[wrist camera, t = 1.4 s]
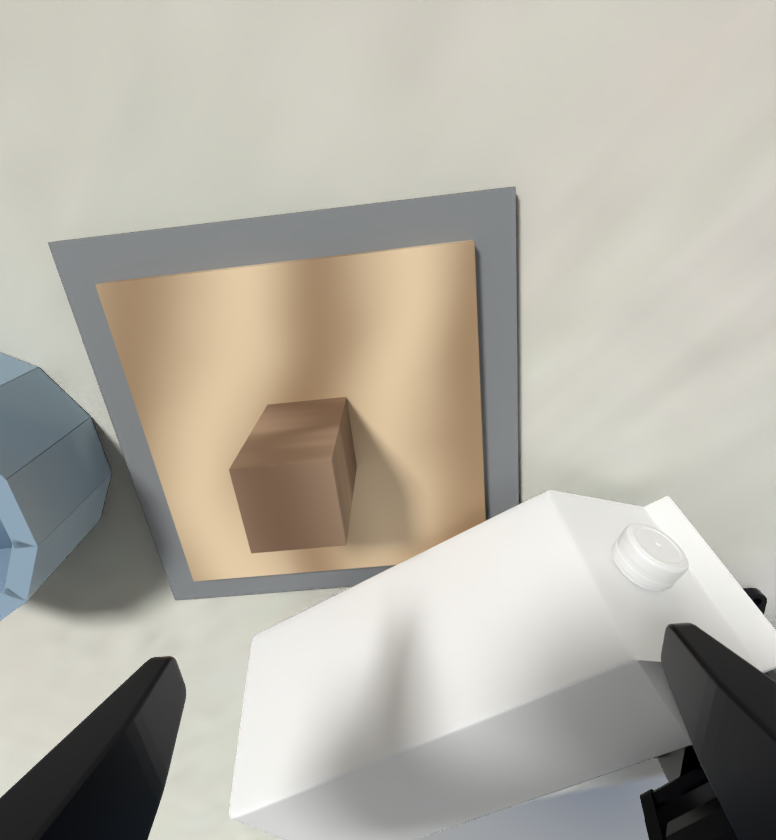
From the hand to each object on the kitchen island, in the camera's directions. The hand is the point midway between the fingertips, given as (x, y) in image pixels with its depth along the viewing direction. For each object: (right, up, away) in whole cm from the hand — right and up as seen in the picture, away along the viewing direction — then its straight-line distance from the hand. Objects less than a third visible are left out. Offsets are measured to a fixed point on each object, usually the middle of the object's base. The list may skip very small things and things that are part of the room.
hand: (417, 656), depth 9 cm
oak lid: (-3, +4, +11) cm, 12 cm away
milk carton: (-5, -10, +13) cm, 17 cm away
